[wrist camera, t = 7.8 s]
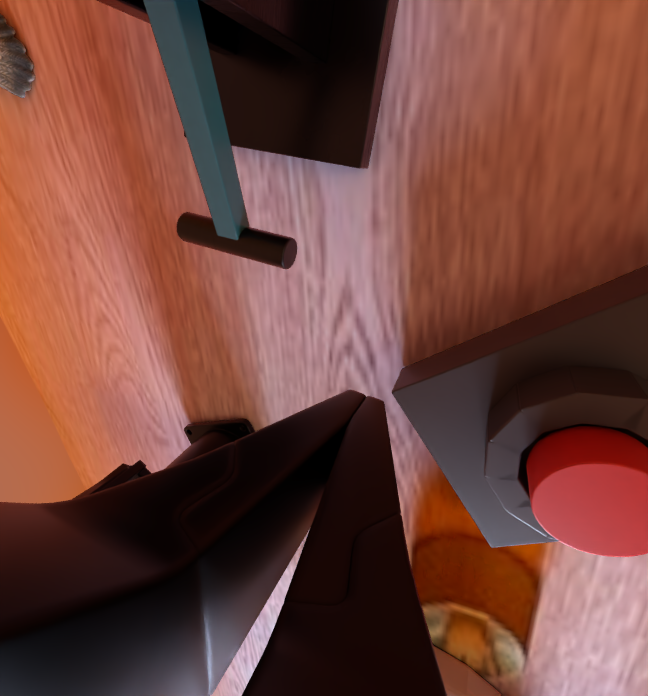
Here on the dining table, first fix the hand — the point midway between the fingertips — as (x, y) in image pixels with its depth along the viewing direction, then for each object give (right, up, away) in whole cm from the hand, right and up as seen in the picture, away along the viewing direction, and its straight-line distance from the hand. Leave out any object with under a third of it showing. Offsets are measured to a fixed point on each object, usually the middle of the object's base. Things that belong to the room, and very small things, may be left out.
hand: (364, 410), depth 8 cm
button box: (+10, -1, +8) cm, 13 cm away
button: (+9, -3, +5) cm, 10 cm away
